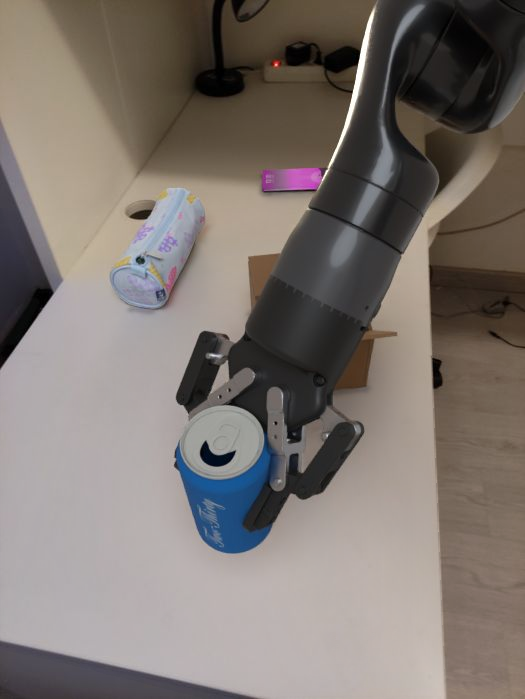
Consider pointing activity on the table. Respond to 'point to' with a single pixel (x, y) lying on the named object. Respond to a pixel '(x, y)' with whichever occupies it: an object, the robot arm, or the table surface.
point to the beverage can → (224, 475)
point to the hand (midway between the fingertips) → (217, 496)
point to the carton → (361, 358)
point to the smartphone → (292, 179)
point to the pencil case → (159, 250)
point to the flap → (378, 334)
